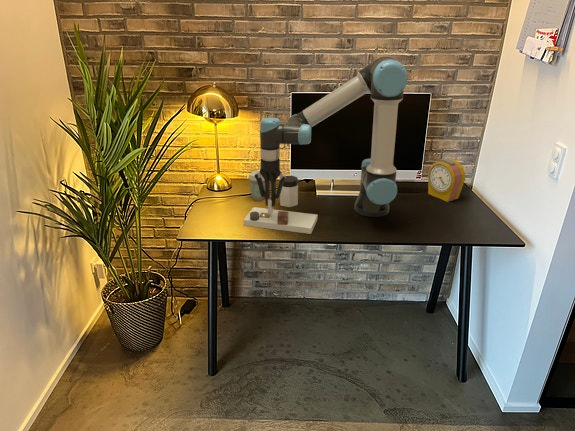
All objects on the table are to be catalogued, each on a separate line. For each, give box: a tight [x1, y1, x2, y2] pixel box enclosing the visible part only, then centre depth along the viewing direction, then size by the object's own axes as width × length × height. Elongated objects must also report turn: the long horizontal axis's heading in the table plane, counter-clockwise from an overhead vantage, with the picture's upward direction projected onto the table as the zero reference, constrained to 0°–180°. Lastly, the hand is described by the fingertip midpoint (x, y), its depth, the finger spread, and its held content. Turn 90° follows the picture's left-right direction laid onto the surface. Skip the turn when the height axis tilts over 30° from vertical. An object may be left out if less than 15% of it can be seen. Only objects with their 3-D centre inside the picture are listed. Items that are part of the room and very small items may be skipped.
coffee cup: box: [248, 170, 266, 201], centre depth 209 cm, size 8×9×12 cm
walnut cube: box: [277, 210, 288, 225], centre depth 182 cm, size 4×4×4 cm
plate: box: [243, 206, 319, 235], centre depth 188 cm, size 28×13×2 cm, turn 75°
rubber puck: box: [249, 212, 259, 221], centre depth 185 cm, size 4×4×2 cm
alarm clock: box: [427, 158, 466, 203], centre depth 212 cm, size 15×8×18 cm, turn 33°
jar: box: [279, 175, 299, 208], centre depth 204 cm, size 9×8×12 cm
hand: (270, 212), depth 188 cm, fingers closed
